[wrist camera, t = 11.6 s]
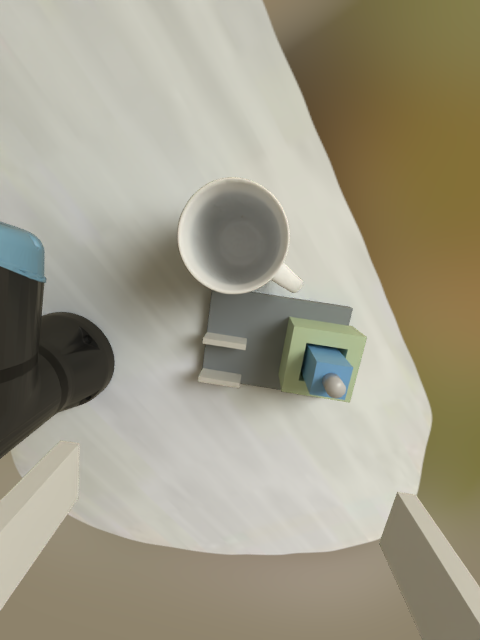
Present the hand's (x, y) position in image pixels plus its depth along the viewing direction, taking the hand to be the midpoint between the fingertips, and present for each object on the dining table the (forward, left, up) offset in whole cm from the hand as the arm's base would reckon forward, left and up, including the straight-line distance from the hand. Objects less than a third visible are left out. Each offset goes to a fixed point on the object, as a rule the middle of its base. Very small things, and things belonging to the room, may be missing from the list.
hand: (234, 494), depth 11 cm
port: (+10, -3, -30) cm, 31 cm away
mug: (-2, +10, -31) cm, 33 cm away
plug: (+10, -3, -30) cm, 31 cm away
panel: (+4, -3, -31) cm, 31 cm away
